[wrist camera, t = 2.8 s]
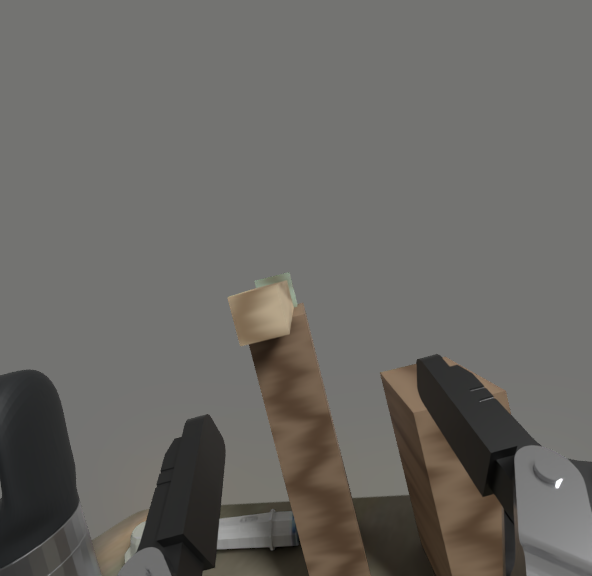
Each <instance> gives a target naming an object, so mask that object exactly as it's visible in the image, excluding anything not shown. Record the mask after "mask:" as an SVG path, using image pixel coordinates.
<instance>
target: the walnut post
mask: <svg viewBox="0 0 592 576" xmlns="http://www.w3.org/2000/svg"><path fill="white" fill-rule="evenodd" d="M249 346H250V350H251V354H252V358H253V362H254V366H255V370H256V373H257V377H258V381H259V385H260V389H261V393H262V396H263V400H264V404H265V408H266V412H267V416H268V420H269V423H270V427H271V431H272V435H273V439H274V443H275V446H276V450H277V454H278V458H279V461H280V466H281V470H282V473H283V477H284V481H285V484H286V489H287V492H288V496H289V500H290V504H291V508H292V512H293V516H294V520H295V523H296V527H297V531H298V535H299V539H300V543H301V546H302V550H303V554H304V558H305V562H306V566H307V570H308V573H309V576H371V575H370V570H369V566H368V562H367V558H366V554H365V549H364V545H363V541H362V537H361V533H360V528H359V524H358V520H357V516H356V512H355V508H354V504H353V500H352V496H351V492H350V488H349V484H348V481H347V476H346V472H345V468H344V464H343V460H342V456H341V453H340V448H339V444H338V440H337V436H336V432H335V429H334V424H333V420H332V416H331V412H330V408H329V405H328V400H327V396H326V392H325V388H324V384H323V380H322V377H321V372H320V368H319V364H318V360H317V356H316V352H315V348H314V344H313V340H312V336H311V332H310V328H309V324H308V321H307V316H306V312H305V308H304V304H303V303H300V304H297V307H294V309H293V315H292V322H291V328H290V334H288V335H284V336H280V337H276V338H272V339H268V340H264V341H260V342H256V343H252V344H249Z"/></svg>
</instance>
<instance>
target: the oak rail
mask: <svg viewBox="0 0 592 576" xmlns="http://www.w3.org/2000/svg"><path fill="white" fill-rule="evenodd" d="M255 285H256V289H252V290H249V291H246V292H243V293H239V294H237V295H233V296H230V297H228V301H229V305H230V309H231V313H232V316H233V320H234V324H235V328H236V332H237V335H238V340H239V343H240V346H244V345H247V344H252V343H256V342H260V341H264V340H268V339H272V338H276V337H280V336H284V335H288V334H290V328H291V322H292V315H293V309H294V307H297V301H296V297H295V293H294V289H293V285H292V281H291V277H290V273H289V272H288V273H285V274H281V275H277V276H273V277H269V278H265V279H261V280H257V281H255Z"/></svg>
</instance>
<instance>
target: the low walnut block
mask: <svg viewBox="0 0 592 576" xmlns="http://www.w3.org/2000/svg"><path fill="white" fill-rule="evenodd" d="M443 359H444V360H445V362H446V363H447V364H448V365H449V366H454V365H459V364H457V363H455V362H453V361H452V360H450V359H448V358H446V357H443ZM459 366H461V365H459ZM461 367H462V366H461ZM463 368H464V367H463ZM464 369H466V368H464ZM466 370H467V369H466ZM468 371H469V370H468ZM469 372H471V371H469ZM471 373H473V372H471ZM380 374H381V379H382V383H383V387H384V390H385V395H386V399H387V404H388V408H389V411H390V416H391V420H392V424H393V428H394V433H395V437H396V441H397V445H398V449H399V453H400V457H401V462H402V466H403V470H404V474H405V478H406V482H407V487H408V491H409V495H410V499H411V503H412V507H413V512H414V516H415V520H416V524H417V528H418V532H419V536H420V541H421V544H422V546H423V548H424V550H425V552H426V555H427V557H428V559H429V561H430V563H431V566H432V568H433V570H434V572H435V574H436V576H503V552H502V505H501V504H500V502H499V501H498V499H497V498H496V496H495V495H494V494H493V495H489V496H485V497H482V495H481V494H480V492H479V491H478V489H477V487H476V486H475V484H474V483H473V481H472V480H471V478H470V476H469V475H468V473H467V472H466V470H465V469H464V467H463V465H462V464H461V462H460V461H459V459H458V458H457V456H456V454H455V453H454V451H453V450H452V448H451V447H450V445H449V443H448V442H447V440H446V439H445V437H444V436H443V434H442V432H441V431H440V429H439V428H438V426H437V425H436V423H435V421H434V420H433V418H432V417H431V415H430V414H429V412H428V410H427V409H426V407H425V406H424V404H423V402H422V400H421V398H420V396H419V393H418V389H417V365H416V364H414V365H409V366H405V367H401V368H397V369H393V370H389V371H385V372H380ZM473 374H474V375H475V377H476V378H477V379H478V380H479V381H480V382H481V383H482V384H483V385H484V387H485V388H487V389H488V391H489V392H490V393H491V394H492V395H493V397H494V398H495V399H497V400H498V401H499V402H500V403H501V405H502V406H503V407H504V408H505V409H506V410H507V411H508V412H509V413H510V414H511V412H510V408H509V403H508V399H507V395H506V391H505V390H503V389H501V388H500V387H498V386H496V385H494V384H492V383H491V382H489V381H487V380H485V379H484V378H482V377H480V376H478V375H477V374H475V373H473Z"/></svg>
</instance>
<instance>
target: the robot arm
mask: <svg viewBox="0 0 592 576" xmlns="http://www.w3.org/2000/svg"><path fill="white" fill-rule="evenodd" d="M416 365H417V389H418V393H419V396H420V398H421V400H422V402H423V404H424V406H425V407H426V409H427V410H428V412H429V414H430V415H431V417H432V418H433V420H434V421H435V423H436V425H437V426H438V428H439V429H440V431H441V432H442V434H443V436H444V437H445V439H446V440H447V442H448V443H449V445H450V447H451V448H452V450H453V451H454V453H455V454H456V456H457V458H458V459H459V461H460V462H461V464H462V465H463V467H464V469H465V470H466V472H467V473H468V475H469V476H470V478H471V480H472V481H473V483H474V484H475V486H476V487H477V489H478V491H479V492H480V494H481V495H482V497H485V496H489V495H493V494H494V495H495V496H496V498H497V499H498V501H499V502H500V504H501V505H502V552H503V576H592V462H587V461H577V460H571V459H567V458H565V457H564V456H562V455H561V454H559V453H557V452H555V451H553V450H551V449H548V448H545V447H542V446H541V445H540V444H539V443H537V442H536V441H535V440H534V439H533V438H532V437H531V436H530V435H529V434H528V433H527V431H525V429H524V428H523V427H522V426H521V425H520V424H519V423H518V422H517V421H516V420H515V419H514V418H513V416H512V415H511V414H510V413H509V412H508V411H507V410H506V409H505V408H504V407H503V406H502V405H501V403H500V402H499V401H498V400H497V399H495V398H494V397H493V395H492V394H491V393H490V392H489V391H488V389H487V388H485V387H484V385H483V384H482V383H481V382H480V381H479V380H478V379H477V378H476V377H475V375H474V374H473V373H471V372H469V371H468V370H466V369H464V368H463V367H461V366H459V365H454V366H449V365H448V364H447V363H446V362H445V360H444V359H443V358H442V357H441V356H440V355H438V354H436V355H432V356H428V357H424V358H421V359H417V362H416ZM224 465H225V444H224V440H223V437H222V436H221V434H220V432H219V431H218V429H217V427H216V425H215V424H214V422H213V420H212V418H211V417H210V415H208V414H207V415H203V416H199V417H195V418H191V419H188V420H187V421H186V423H185V426H184V430H183V434H182V437H180V438H176V439H174V441H173V443H172V444H171V446H170V447H169V449H168V451H167V452H166V454H165V457H164V460H163V464H162V468H161V474H159V478H158V481H157V488H155V492H154V495H153V499H152V502H151V506H150V509H149V513H148V516H147V520H146V523H145V527H144V530H143V534H142V537H141V541H140V544H139V547H138V549H137V551H136V554H134V555H133V556H132V557H131V558H130V559H129V560H128V561H127V562H126V563H125V564H124V566H123V567H122V568H121V570H120V572H119V573H118V575H117V576H202V572H203V571H204V570H208V569H211V568H215V561H216V551H217V540H218V529H219V519H220V508H221V497H222V486H223V476H224ZM0 481H1V488H2V498H1V499H0V576H102V574H101V571H100V567H99V564H98V560H97V557H96V554H95V550H94V547H93V543H92V540H91V537H90V533H89V530H88V526H87V523H86V520H85V517H84V513H83V510H82V506H81V503H80V500H79V496H78V493H77V489H76V472H75V463H74V459H73V454H72V450H71V446H70V442H69V437H68V433H67V428H66V423H65V418H64V413H63V409H62V405H61V401H60V398H59V395H58V393H57V390H56V388H55V387H54V385H53V384H52V382H51V381H50V380H49V378H48V377H47V376H45V375H44V374H43V373H41V372H39V371H36V370H22V371H16V372H12V373H8V374H4V375H0Z"/></svg>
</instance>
